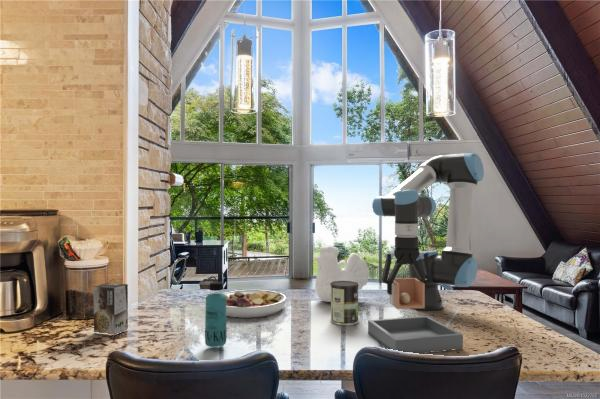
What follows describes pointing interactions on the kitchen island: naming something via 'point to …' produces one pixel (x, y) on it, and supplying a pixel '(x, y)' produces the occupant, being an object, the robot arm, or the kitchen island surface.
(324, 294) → the decorative rooster
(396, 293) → the open brown box
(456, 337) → the tray
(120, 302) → the coffee box
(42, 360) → the kitchen island surface
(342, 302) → the coffee can
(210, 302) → the beverage bottle
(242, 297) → the bowl
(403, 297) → the ball
